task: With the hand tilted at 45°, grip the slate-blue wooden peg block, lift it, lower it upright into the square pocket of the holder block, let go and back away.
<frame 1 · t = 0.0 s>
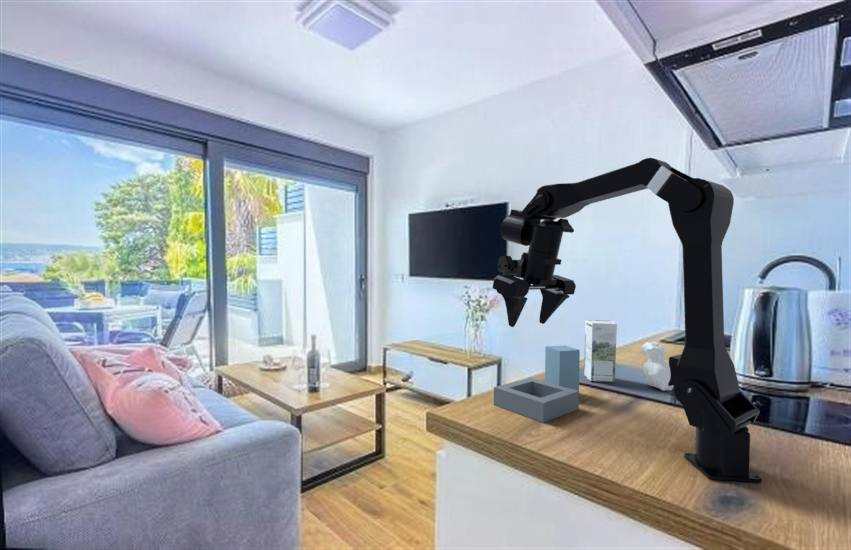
hand: (526, 324, 83), 15 cm above the counter, tool pointing down, fingers open, 9 cm apart
holder: (535, 406, 79), on the counter
syrup box: (599, 380, 99), on the counter
duck figurine: (658, 387, 94), on the counter
peg block: (561, 394, 87), on the counter
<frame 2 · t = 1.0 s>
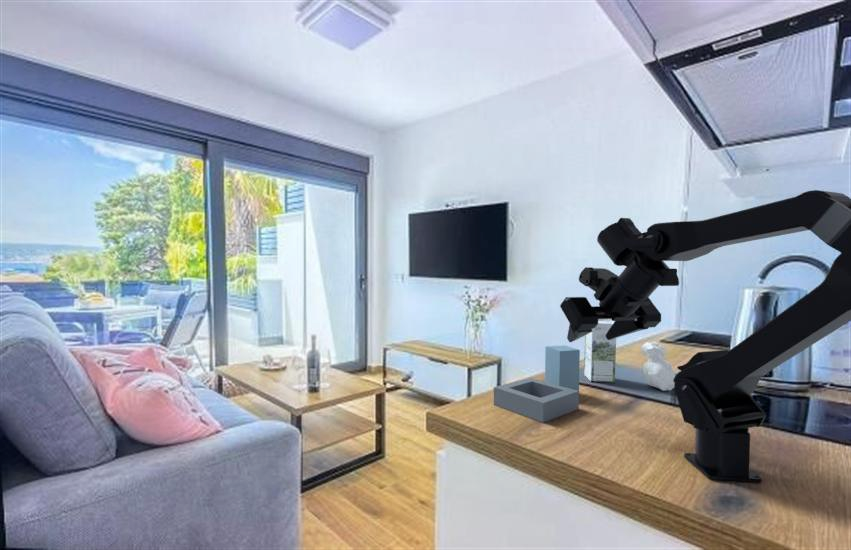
hand: (588, 339, 79), 13 cm above the counter, tool tilted 45°, fingers open, 9 cm apart
nothing on the counter moved.
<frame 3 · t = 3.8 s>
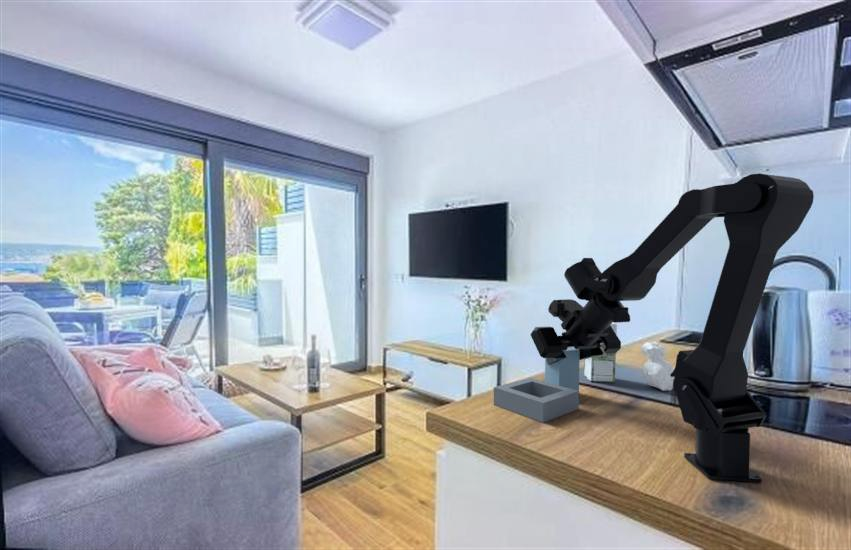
hand: (558, 362, 88), 7 cm above the counter, tool tilted 45°, fingers closed on peg block, 5 cm apart
peg block: (561, 393, 87), on the counter, touching gripper
everything else where it was.
when the fingers open (8 cm above the counter, at t = 8.9 s): peg block drops 1 cm, resting in holder.
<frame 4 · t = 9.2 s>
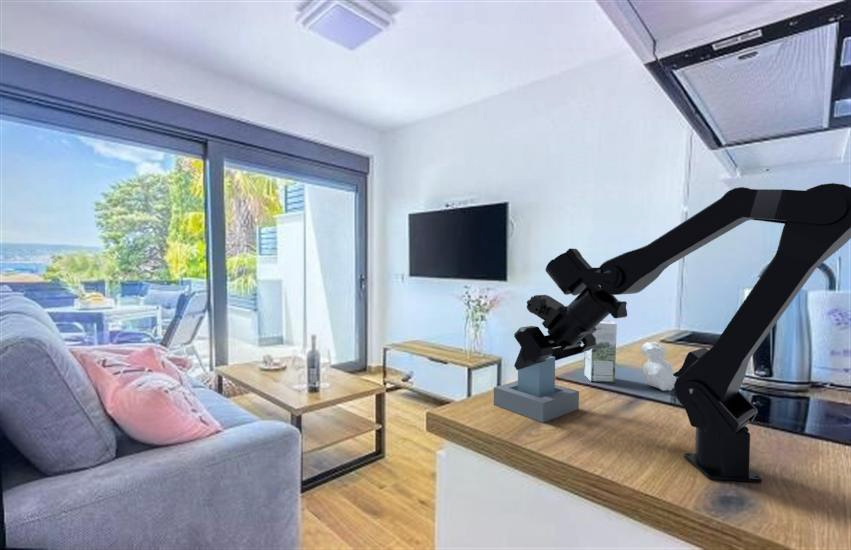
hand: (530, 364, 80), 8 cm above the counter, tool tilted 45°, fingers open, 9 cm apart
peg block: (535, 407, 79), resting in holder
everything else where it was.
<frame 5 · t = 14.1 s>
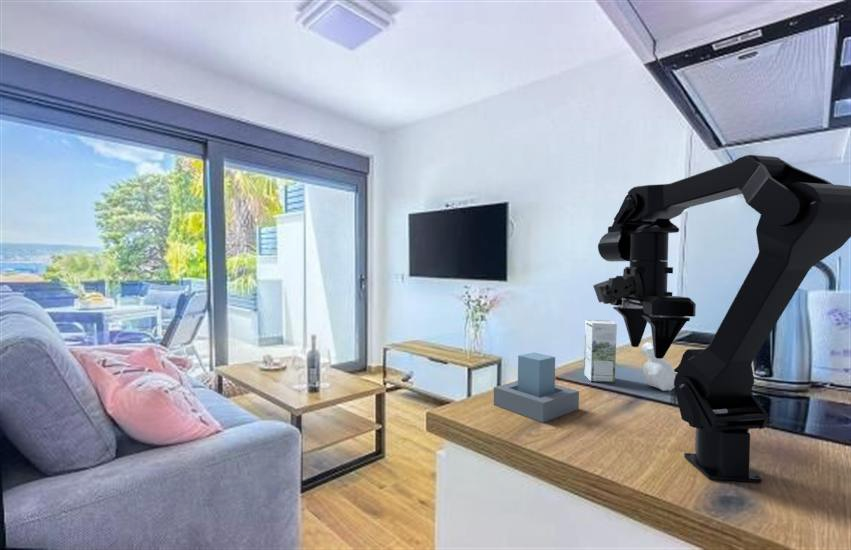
hand: (646, 352, 69), 13 cm above the counter, tool pointing down, fingers open, 9 cm apart
nothing on the counter moved.
at the end: peg block 0.0 cm off-centre on the holder, point 0.0 cm above the holder's base; peg block tilted 0°; the gripper is holding nothing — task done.
